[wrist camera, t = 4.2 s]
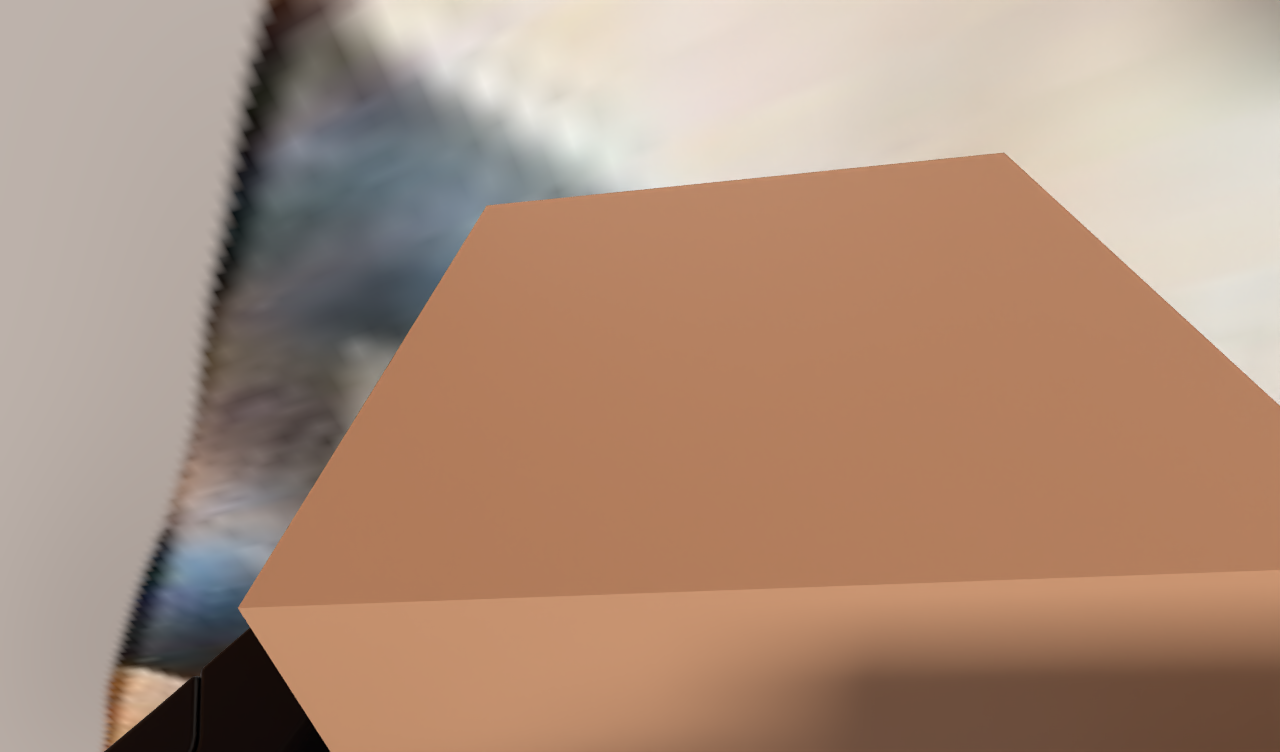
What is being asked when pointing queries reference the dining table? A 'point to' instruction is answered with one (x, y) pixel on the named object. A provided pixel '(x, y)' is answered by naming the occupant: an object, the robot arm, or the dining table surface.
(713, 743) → the cube
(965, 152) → the dining table surface
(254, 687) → the robot arm
